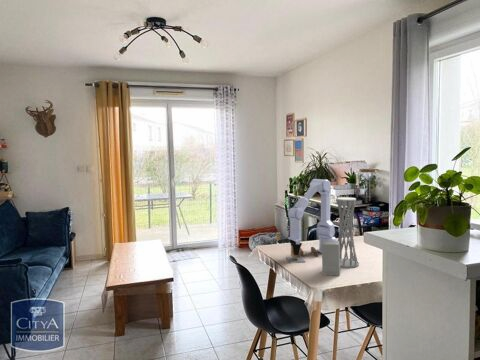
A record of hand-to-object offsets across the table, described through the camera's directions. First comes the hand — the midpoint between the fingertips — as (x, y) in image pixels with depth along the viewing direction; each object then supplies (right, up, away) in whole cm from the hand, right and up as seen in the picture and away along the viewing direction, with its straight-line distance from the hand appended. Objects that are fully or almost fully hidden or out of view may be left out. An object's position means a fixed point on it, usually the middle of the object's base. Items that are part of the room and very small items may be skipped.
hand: (295, 253), depth 194 cm
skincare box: (+14, -5, -22) cm, 27 cm away
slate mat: (0, -3, 0) cm, 3 cm away
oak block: (0, -2, 0) cm, 2 cm away
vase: (+25, -4, -8) cm, 27 cm away
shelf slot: (+9, -3, +11) cm, 14 cm away
